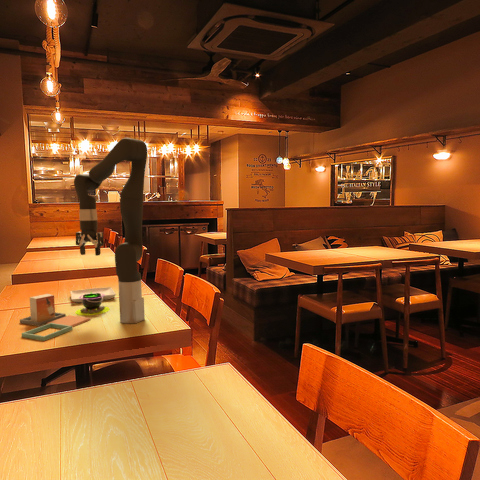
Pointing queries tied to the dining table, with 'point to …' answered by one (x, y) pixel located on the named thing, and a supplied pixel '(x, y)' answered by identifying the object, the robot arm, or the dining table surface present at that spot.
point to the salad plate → (105, 291)
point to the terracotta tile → (70, 320)
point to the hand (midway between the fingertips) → (90, 255)
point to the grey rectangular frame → (27, 321)
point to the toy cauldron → (92, 304)
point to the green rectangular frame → (63, 329)
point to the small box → (42, 307)
